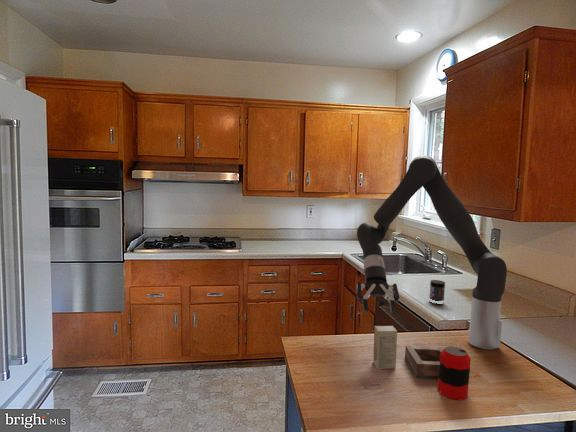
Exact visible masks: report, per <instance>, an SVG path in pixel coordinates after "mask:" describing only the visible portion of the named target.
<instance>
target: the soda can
mask: <svg viewBox="0 0 576 432" xmlns="http://www.w3.org/2000/svg"><path fill="white" fill-rule="evenodd" d="M471 360H472V359H471V357H470V355H469V353H468V352H467V351H466V350H465V349H464V348H461V347H458V346H451V345H450V346H445V347H444V350H442V351H441V355H440V368H439V379H438V382H437V383H438V384H437V390H438V391H439V393H440V394H441V395H442V396H444V397H445V398H447V399H451V400H456V401H461V400H465V399H466V398H468V396H469V395H468V394H469V383H470V374H471V372H470V371H471Z"/></svg>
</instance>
